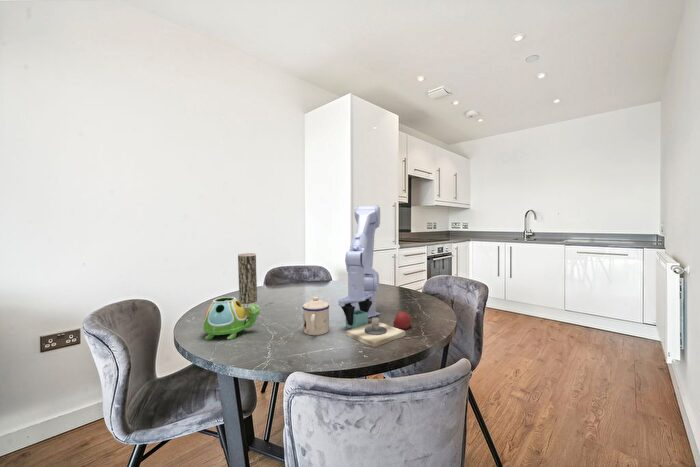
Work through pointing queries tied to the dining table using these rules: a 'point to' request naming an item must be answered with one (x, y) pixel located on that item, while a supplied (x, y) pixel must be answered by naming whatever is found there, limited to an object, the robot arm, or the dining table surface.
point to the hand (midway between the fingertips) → (356, 322)
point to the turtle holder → (228, 317)
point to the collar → (358, 319)
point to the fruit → (402, 320)
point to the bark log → (247, 280)
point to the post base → (375, 333)
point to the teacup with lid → (316, 317)
